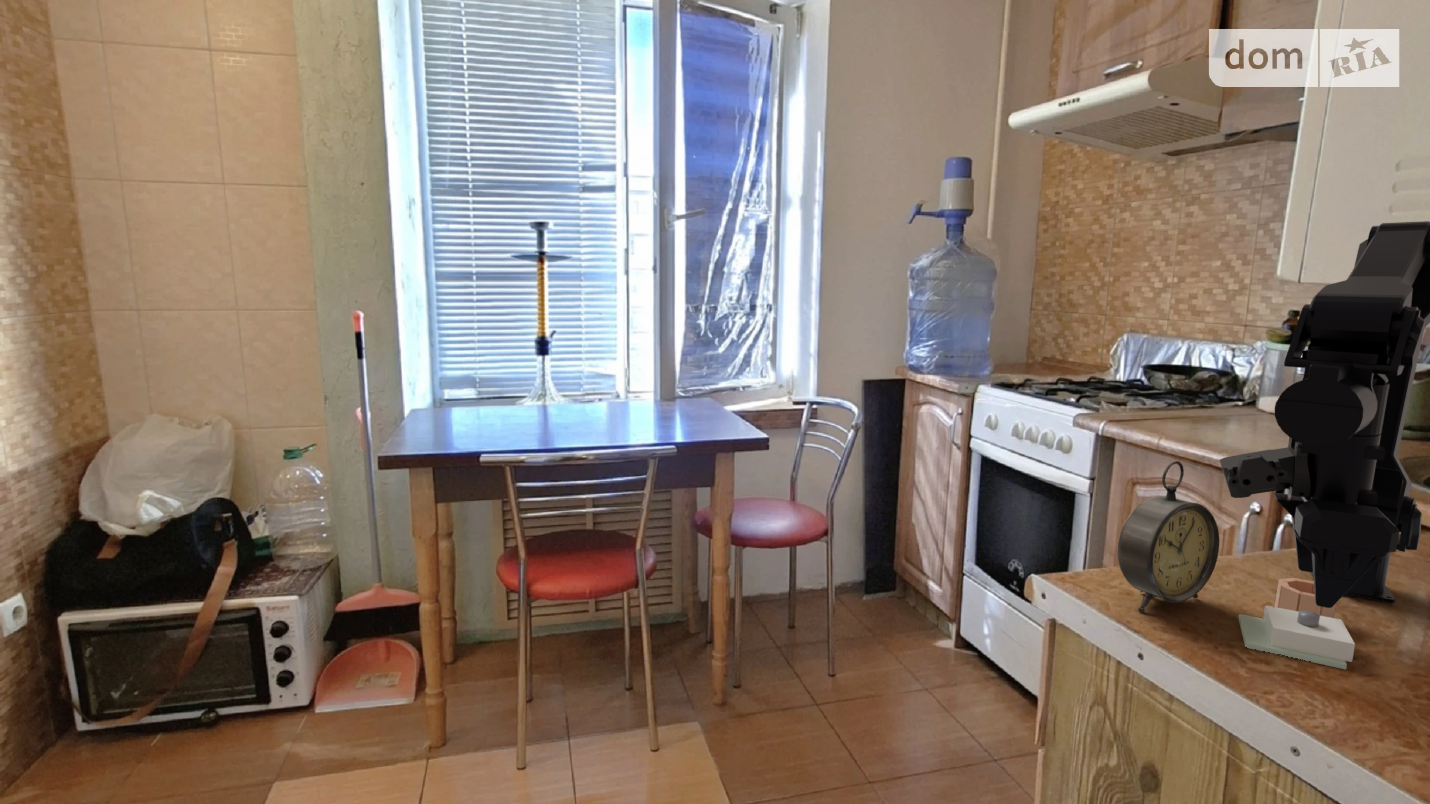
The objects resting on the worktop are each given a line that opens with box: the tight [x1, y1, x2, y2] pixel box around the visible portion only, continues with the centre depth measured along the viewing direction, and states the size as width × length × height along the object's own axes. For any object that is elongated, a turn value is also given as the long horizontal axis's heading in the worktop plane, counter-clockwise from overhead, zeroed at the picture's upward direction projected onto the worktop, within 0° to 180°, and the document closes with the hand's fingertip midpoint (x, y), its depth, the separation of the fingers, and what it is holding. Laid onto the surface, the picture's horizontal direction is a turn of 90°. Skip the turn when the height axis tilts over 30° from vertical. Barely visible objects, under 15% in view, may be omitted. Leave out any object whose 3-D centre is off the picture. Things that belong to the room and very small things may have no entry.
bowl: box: [1274, 577, 1338, 618], centre depth 74 cm, size 5×5×4 cm
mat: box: [1237, 613, 1348, 670], centre depth 70 cm, size 7×8×1 cm
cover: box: [1262, 605, 1356, 663], centre depth 69 cm, size 6×6×3 cm
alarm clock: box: [1117, 460, 1220, 613], centre depth 77 cm, size 11×5×16 cm, turn 112°
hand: (1313, 587), depth 68 cm, fingers open, 9 cm apart
